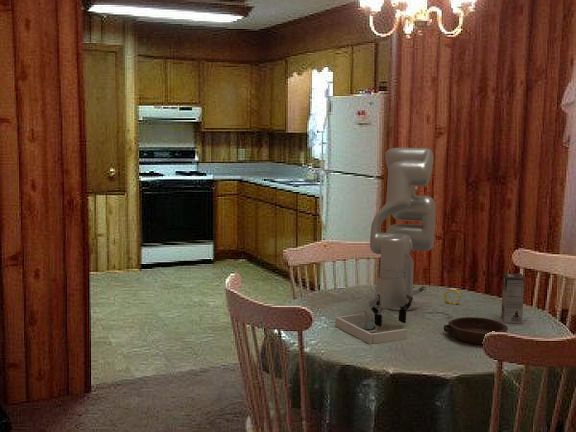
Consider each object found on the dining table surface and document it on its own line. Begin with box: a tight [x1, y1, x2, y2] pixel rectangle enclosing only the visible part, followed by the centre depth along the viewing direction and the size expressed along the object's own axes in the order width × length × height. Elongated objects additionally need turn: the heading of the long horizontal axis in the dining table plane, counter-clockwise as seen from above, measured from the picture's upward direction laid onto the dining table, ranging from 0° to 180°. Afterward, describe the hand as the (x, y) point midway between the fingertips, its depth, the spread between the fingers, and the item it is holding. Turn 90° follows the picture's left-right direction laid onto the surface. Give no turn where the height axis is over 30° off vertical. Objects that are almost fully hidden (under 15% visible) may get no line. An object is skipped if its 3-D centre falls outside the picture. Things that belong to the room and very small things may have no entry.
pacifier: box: [356, 311, 378, 333], centre depth 217 cm, size 7×6×6 cm
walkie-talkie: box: [413, 285, 426, 296], centre depth 271 cm, size 9×4×20 cm
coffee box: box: [500, 272, 525, 325], centre depth 231 cm, size 9×6×16 cm
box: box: [334, 312, 408, 345], centre depth 215 cm, size 22×14×3 cm, turn 26°
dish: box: [443, 316, 509, 345], centre depth 209 cm, size 18×22×5 cm
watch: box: [444, 287, 462, 305], centre depth 254 cm, size 6×3×6 cm, turn 62°
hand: (390, 323), depth 220 cm, fingers open, 9 cm apart
